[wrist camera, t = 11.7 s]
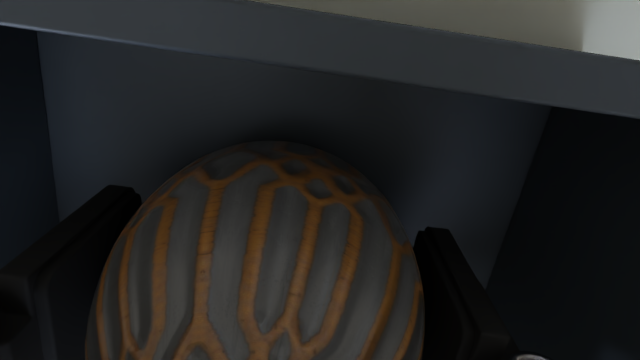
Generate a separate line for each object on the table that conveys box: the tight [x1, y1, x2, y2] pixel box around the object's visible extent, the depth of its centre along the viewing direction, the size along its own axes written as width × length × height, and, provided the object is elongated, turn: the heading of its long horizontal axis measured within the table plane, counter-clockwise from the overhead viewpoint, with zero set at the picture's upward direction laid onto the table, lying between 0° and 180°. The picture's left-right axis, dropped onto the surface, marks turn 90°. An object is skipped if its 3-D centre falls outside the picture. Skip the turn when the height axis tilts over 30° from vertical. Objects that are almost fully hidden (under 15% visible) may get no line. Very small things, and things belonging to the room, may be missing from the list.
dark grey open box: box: [0, 0, 640, 360], centre depth 10 cm, size 12×15×7 cm
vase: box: [85, 141, 425, 360], centre depth 9 cm, size 7×7×9 cm
